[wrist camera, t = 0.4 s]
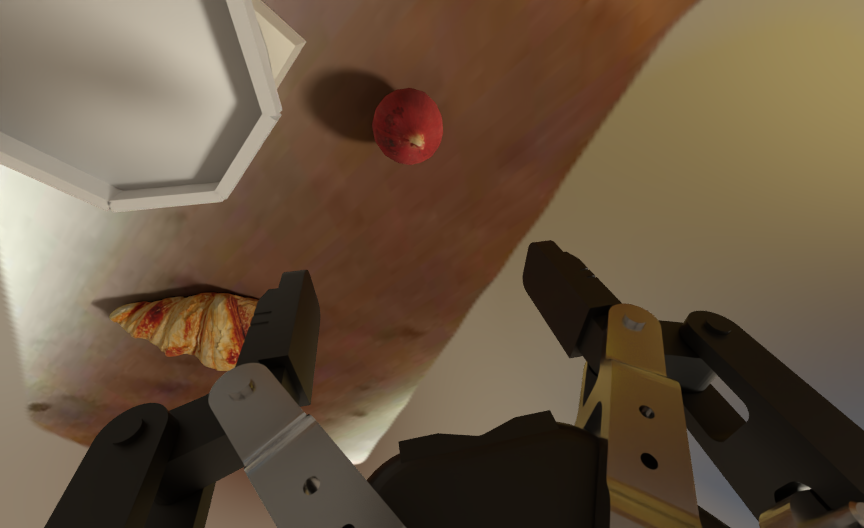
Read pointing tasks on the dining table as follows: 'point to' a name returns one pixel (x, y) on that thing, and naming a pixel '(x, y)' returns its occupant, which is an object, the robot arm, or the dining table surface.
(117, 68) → the scale
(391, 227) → the dining table surface
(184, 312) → the croissant
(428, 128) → the onion
